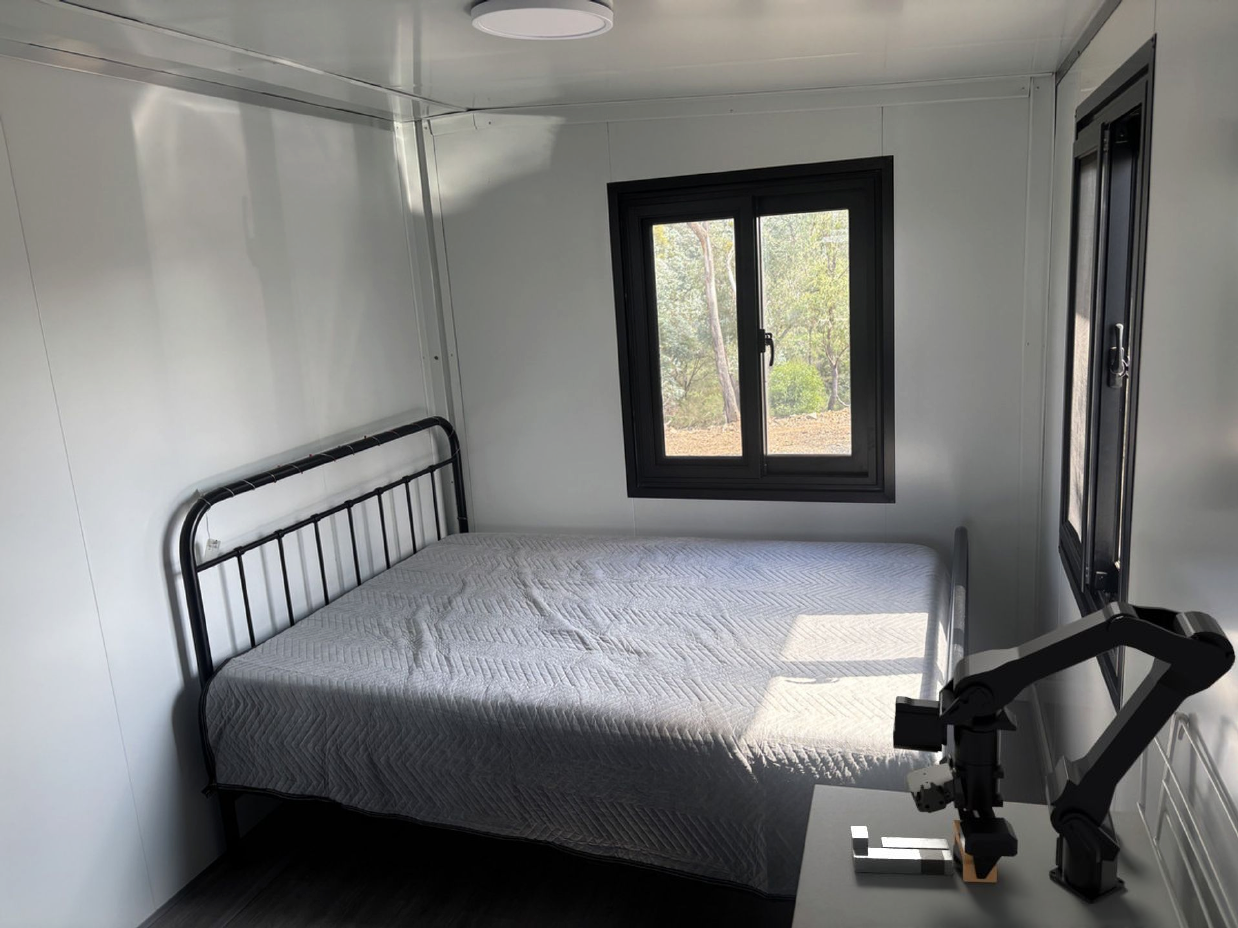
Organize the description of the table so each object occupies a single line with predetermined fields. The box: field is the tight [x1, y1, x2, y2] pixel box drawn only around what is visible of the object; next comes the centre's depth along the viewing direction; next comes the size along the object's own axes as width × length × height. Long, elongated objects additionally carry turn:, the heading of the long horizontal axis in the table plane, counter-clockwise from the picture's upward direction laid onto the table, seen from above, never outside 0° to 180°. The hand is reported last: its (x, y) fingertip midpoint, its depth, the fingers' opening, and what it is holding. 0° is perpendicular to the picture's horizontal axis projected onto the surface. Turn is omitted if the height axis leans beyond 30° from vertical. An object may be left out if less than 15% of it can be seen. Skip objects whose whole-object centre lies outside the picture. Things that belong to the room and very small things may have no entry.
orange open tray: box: [952, 819, 998, 883], centre depth 126 cm, size 4×7×4 cm, turn 172°
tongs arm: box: [850, 825, 954, 876], centre depth 128 cm, size 12×4×4 cm, turn 82°
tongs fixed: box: [881, 837, 963, 875], centre depth 128 cm, size 13×4×2 cm, turn 82°
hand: (974, 859), depth 127 cm, fingers closed on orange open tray, 7 cm apart
